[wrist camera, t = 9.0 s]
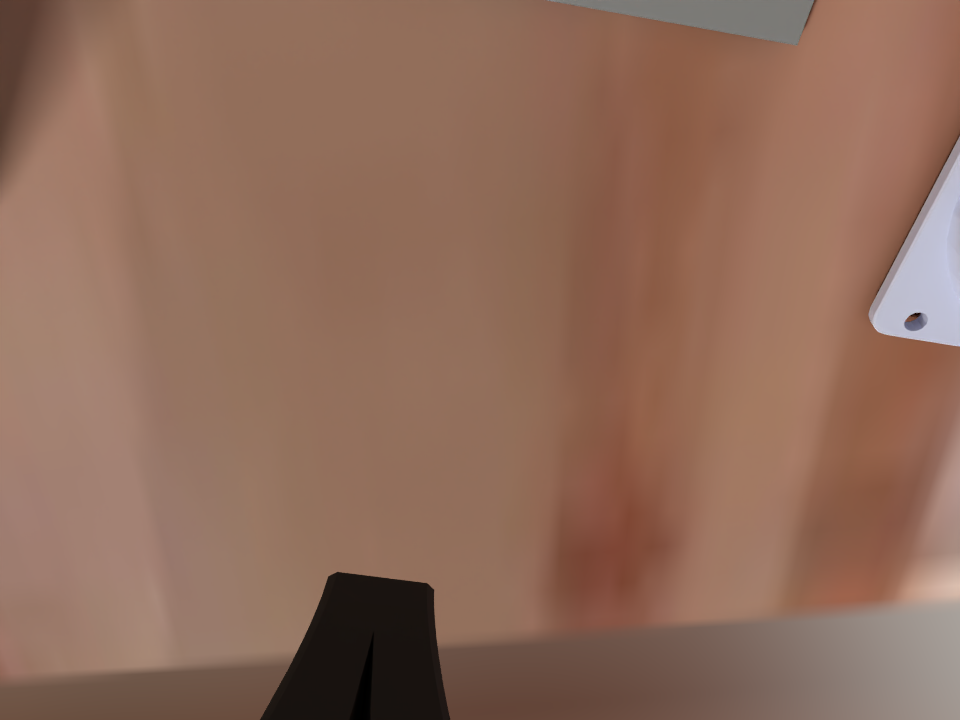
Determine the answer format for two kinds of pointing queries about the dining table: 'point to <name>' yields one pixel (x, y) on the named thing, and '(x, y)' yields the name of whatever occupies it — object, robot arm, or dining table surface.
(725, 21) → the mat
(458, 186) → the dining table surface
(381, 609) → the robot arm
